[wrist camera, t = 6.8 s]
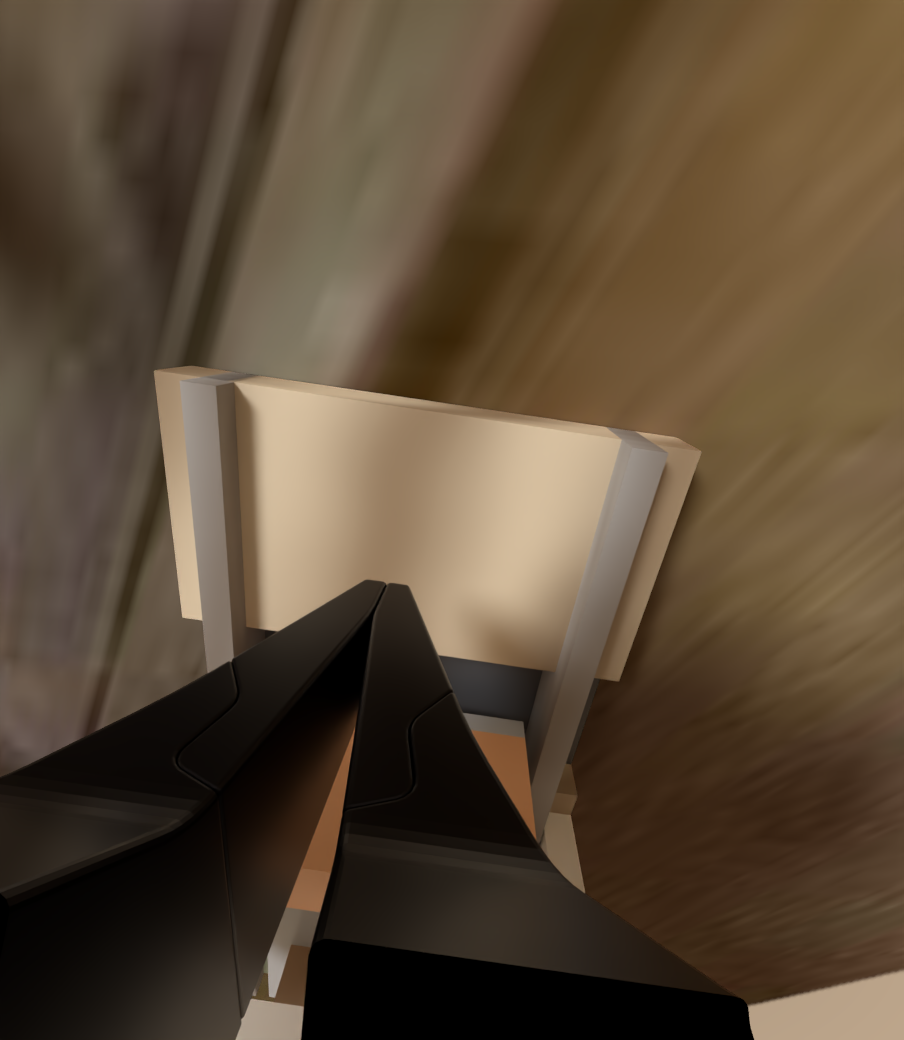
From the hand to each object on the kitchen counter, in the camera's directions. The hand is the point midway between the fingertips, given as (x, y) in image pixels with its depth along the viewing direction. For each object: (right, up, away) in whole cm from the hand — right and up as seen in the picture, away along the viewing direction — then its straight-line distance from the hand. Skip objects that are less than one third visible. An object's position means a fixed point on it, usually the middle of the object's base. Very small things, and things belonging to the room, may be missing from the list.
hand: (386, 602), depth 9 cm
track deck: (-1, -7, +8) cm, 11 cm away
